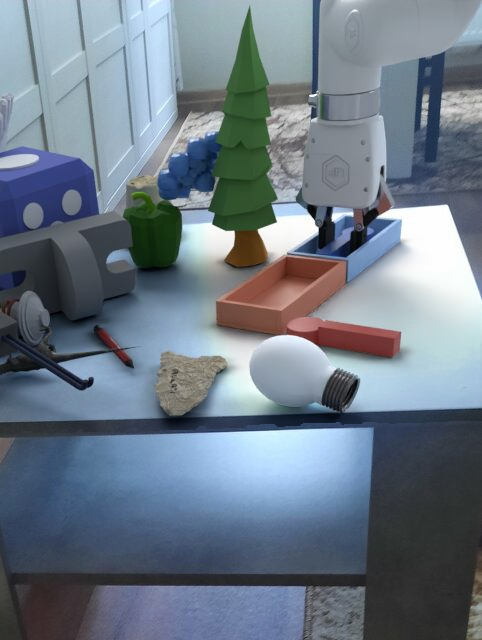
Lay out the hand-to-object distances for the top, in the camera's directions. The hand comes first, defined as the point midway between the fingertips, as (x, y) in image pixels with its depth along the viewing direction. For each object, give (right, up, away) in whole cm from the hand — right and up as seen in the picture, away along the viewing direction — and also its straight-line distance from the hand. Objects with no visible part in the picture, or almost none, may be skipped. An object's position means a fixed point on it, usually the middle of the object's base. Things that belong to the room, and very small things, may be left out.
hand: (341, 255), depth 119 cm
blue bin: (+1, 0, +1) cm, 1 cm away
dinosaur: (-38, -16, -15) cm, 44 cm away
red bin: (-10, -10, -10) cm, 17 cm away
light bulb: (-7, -28, -35) cm, 45 cm away
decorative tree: (-13, +1, +4) cm, 14 cm away
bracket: (-38, -3, -5) cm, 39 cm away
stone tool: (-21, -19, -21) cm, 35 cm away
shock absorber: (-53, -12, -9) cm, 55 cm away
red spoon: (-5, -18, -21) cm, 28 cm away
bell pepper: (-25, +1, +7) cm, 26 cm away
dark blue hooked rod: (-53, -10, -13) cm, 55 cm away
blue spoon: (0, 0, +1) cm, 1 cm away
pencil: (-30, -18, -16) cm, 39 cm away
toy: (-48, +10, +19) cm, 52 cm away
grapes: (-18, +13, +6) cm, 23 cm away
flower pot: (-27, +16, +11) cm, 33 cm away
